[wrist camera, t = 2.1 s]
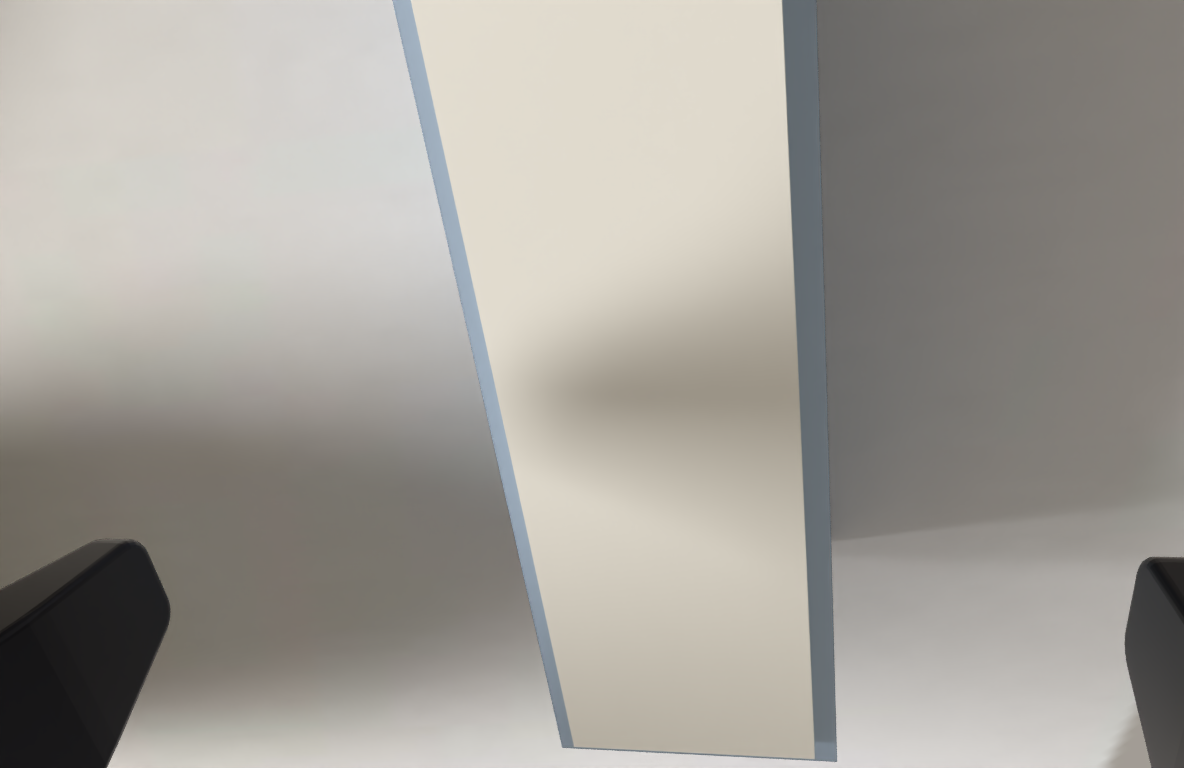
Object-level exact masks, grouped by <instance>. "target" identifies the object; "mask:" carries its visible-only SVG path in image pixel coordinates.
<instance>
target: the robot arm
mask: <svg viewBox="0 0 1184 768" xmlns="http://www.w3.org/2000/svg"><path fill="white" fill-rule="evenodd" d="M169 621H170V603H169V600H168V597H167V595H166V592H165V590H164V588H163V586H162V583H161V581H160V579H159V577H158V574H157V572H156V570H155V568H154V565H153V563H152V561H151V559H150V556H149V554H148V552H147V550H146V549H145V547H144V546H143V545H141V544H140V543H139V542H138V541H134V540H131V539H100V540H95V541H93V542H90V543H88V544H86V545H85V546H83V547H81V548H79V549H77V550H75V551H73V552H71V553H69V554H67V555H65V556H64V557H62V558H60V559H58V560H56V561H54V562H52V563H50V564H48V565H46V566H44V567H42V568H41V569H39V570H37V571H35V572H33V573H31V574H29V575H27V576H25V577H23V578H21V579H20V580H18V581H16V582H14V583H12V584H10V585H8V586H6V587H4V588H2V589H0V768H107V767H108V764H109V762H110V760H111V758H112V756H113V753H114V751H115V749H116V747H117V745H118V742H119V740H120V738H121V735H122V733H123V731H124V728H125V726H126V724H127V722H128V719H129V717H130V715H131V712H132V710H133V708H134V705H135V703H136V701H137V698H138V696H139V694H140V691H141V689H142V687H143V684H144V682H145V680H146V677H147V675H148V673H149V670H150V668H151V666H152V663H153V661H154V659H155V656H156V654H157V652H158V649H159V647H160V645H161V642H162V640H163V638H164V635H165V633H166V631H167V628H168V625H169ZM1125 655H1126V662H1127V667H1128V671H1129V675H1130V679H1131V684H1132V688H1133V692H1134V696H1135V700H1136V705H1137V709H1138V713H1139V717H1140V721H1141V725H1142V730H1143V734H1144V738H1145V742H1146V746H1147V751H1148V755H1149V759H1150V763H1151V768H1184V557H1149V558H1148V559H1146V560H1144V561H1143V562H1142V563H1141V565H1140V567H1139V569H1138V572H1137V575H1136V581H1135V586H1134V591H1133V596H1132V601H1131V606H1130V611H1129V616H1128V622H1127V627H1126V632H1125Z"/></svg>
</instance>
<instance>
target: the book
mask: <svg viewBox="0 0 1184 768" xmlns="http://www.w3.org/2000/svg"><path fill="white" fill-rule="evenodd" d="M392 1H393V5H394V9H395V14H396V18H397V22H398V27H399V31H400V36H401V40H402V44H403V49H404V53H405V58H406V62H407V66H408V71H409V75H410V80H411V84H412V88H413V93H414V97H415V102H416V106H417V110H418V115H419V119H420V124H421V128H422V132H423V137H424V141H425V146H426V150H427V154H428V159H429V163H430V168H431V172H432V176H433V181H434V185H435V190H436V194H437V198H438V203H439V207H440V211H441V216H442V220H443V225H444V229H445V233H446V238H447V242H448V247H449V251H450V255H451V260H452V264H453V269H454V273H455V277H456V282H457V286H458V291H459V295H460V299H461V304H462V308H463V313H464V317H465V321H466V326H467V330H468V335H469V339H470V343H471V348H472V352H473V357H474V361H475V365H476V370H477V374H478V379H479V383H480V387H481V392H482V396H483V401H484V405H485V409H486V414H487V418H488V422H489V427H490V431H491V436H492V440H493V444H494V449H495V453H496V458H497V462H498V466H499V471H500V475H501V480H502V484H503V488H504V493H505V497H506V502H507V506H508V510H509V515H510V519H511V524H512V528H513V532H514V537H515V541H516V546H517V550H518V554H519V559H520V563H521V568H522V572H523V576H524V581H525V585H526V590H527V594H528V598H529V603H530V607H531V611H532V616H533V620H534V625H535V629H536V633H537V638H538V642H539V647H540V651H541V655H542V660H543V664H544V669H545V673H546V677H547V682H548V686H549V691H550V695H551V699H552V704H553V708H554V713H555V717H556V721H557V726H558V730H559V735H560V739H561V743H562V748H578V749H597V750H617V751H636V752H656V753H675V754H695V755H714V756H733V757H753V758H772V759H792V760H811V761H831V762H837V742H836V706H835V669H834V632H833V595H832V558H831V521H830V484H829V448H828V411H827V374H826V337H825V300H824V263H823V227H822V190H821V153H820V116H819V79H818V42H817V6H816V0H392Z"/></svg>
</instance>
